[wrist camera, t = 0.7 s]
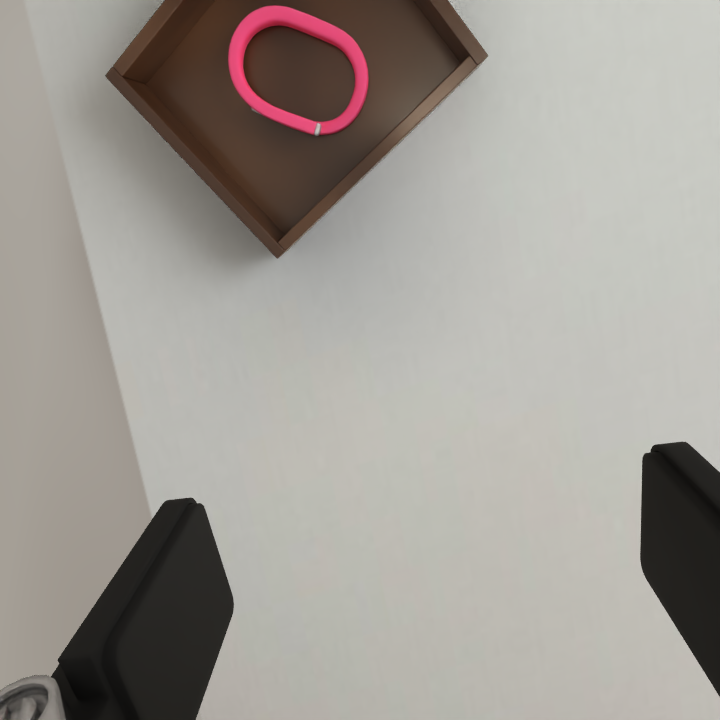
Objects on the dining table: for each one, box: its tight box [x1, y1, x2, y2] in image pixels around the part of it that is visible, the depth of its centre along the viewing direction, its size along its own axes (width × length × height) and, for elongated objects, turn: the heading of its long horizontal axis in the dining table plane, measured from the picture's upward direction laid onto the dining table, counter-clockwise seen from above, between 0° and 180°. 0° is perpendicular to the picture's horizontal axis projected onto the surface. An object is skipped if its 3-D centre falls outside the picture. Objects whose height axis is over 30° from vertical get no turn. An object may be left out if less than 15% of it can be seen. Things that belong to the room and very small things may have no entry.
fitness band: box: [228, 5, 369, 136], centre depth 30 cm, size 8×6×2 cm
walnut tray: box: [105, 0, 488, 259], centre depth 29 cm, size 16×13×3 cm
